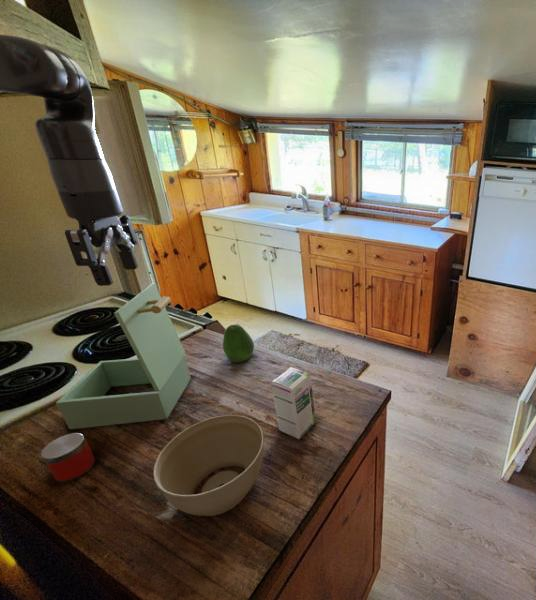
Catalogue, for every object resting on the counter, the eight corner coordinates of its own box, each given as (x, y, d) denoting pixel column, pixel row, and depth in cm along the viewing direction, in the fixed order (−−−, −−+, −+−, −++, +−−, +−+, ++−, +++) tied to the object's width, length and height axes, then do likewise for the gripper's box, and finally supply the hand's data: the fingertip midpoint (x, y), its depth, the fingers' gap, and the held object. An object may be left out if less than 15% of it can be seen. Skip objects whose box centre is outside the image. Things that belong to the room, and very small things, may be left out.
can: (48, 487, 58) (31, 460, 56) (70, 460, 63) (55, 434, 61) (85, 482, 60) (70, 456, 57) (103, 456, 65) (91, 430, 62)
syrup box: (299, 442, 70) (293, 389, 63) (278, 433, 72) (270, 380, 66) (316, 424, 74) (311, 373, 68) (296, 415, 76) (290, 365, 70)
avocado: (220, 364, 93) (212, 327, 88) (242, 350, 100) (235, 315, 95) (241, 371, 90) (233, 334, 85) (262, 357, 97) (256, 322, 92)
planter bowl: (203, 562, 49) (187, 518, 44) (153, 503, 57) (134, 460, 52) (289, 481, 61) (282, 440, 57) (238, 441, 69) (228, 402, 65)
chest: (71, 432, 69) (55, 402, 66) (111, 387, 82) (99, 361, 79) (168, 422, 73) (158, 393, 70) (191, 380, 86) (184, 354, 83)
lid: (113, 312, 61) (143, 308, 62) (150, 283, 74) (175, 280, 75) (155, 392, 69) (181, 387, 70) (182, 353, 82) (204, 350, 83)
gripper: (89, 183, 61) (118, 265, 68) (26, 192, 48) (70, 292, 55) (134, 183, 62) (158, 264, 69) (84, 193, 50) (120, 290, 56)
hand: (119, 276), depth 62 cm, fingers open, 8 cm apart
